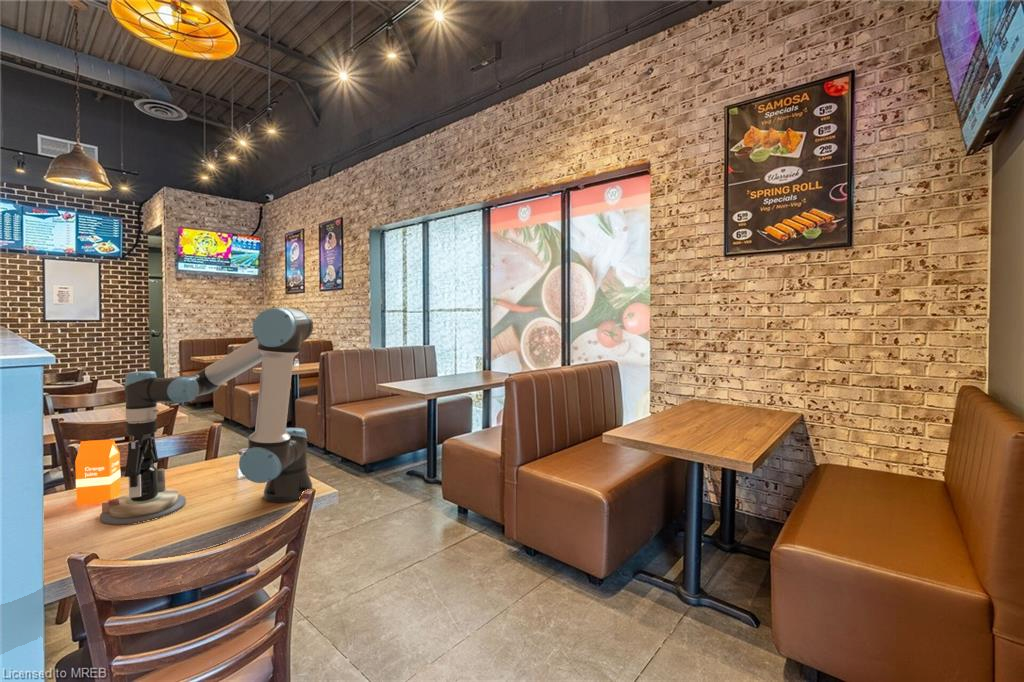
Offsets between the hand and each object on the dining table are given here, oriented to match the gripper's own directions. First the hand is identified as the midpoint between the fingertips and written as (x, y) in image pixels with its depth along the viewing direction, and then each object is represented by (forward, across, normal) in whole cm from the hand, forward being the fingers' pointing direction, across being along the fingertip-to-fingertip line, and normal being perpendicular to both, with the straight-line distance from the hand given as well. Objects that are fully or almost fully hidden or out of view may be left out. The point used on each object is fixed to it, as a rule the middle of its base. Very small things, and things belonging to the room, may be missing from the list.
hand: (143, 490), depth 141 cm
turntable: (+5, +1, 0) cm, 6 cm away
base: (+7, +1, 0) cm, 7 cm away
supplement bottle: (+3, +1, 0) cm, 3 cm away
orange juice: (+7, +16, +17) cm, 25 cm away
